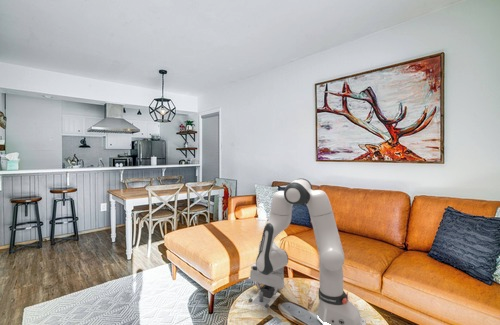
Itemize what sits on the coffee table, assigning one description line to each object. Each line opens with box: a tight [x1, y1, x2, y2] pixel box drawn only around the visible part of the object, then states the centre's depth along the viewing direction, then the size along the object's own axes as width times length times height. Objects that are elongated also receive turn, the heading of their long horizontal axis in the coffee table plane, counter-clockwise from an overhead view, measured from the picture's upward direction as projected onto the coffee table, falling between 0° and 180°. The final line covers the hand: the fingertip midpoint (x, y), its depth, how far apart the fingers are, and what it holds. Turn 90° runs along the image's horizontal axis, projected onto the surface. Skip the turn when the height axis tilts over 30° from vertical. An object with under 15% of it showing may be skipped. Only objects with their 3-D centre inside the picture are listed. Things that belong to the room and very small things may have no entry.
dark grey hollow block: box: [261, 284, 275, 299], centre depth 143 cm, size 6×6×4 cm
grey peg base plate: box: [247, 290, 282, 310], centre depth 140 cm, size 12×16×6 cm
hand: (266, 291), depth 143 cm, fingers open, 8 cm apart
